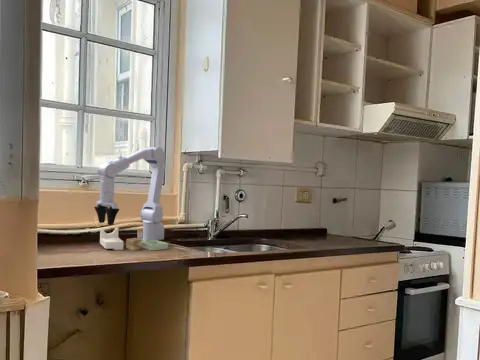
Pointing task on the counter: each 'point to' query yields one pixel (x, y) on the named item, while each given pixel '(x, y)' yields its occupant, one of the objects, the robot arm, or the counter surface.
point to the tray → (154, 245)
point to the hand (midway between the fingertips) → (106, 223)
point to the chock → (133, 244)
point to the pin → (139, 234)
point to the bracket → (111, 239)
